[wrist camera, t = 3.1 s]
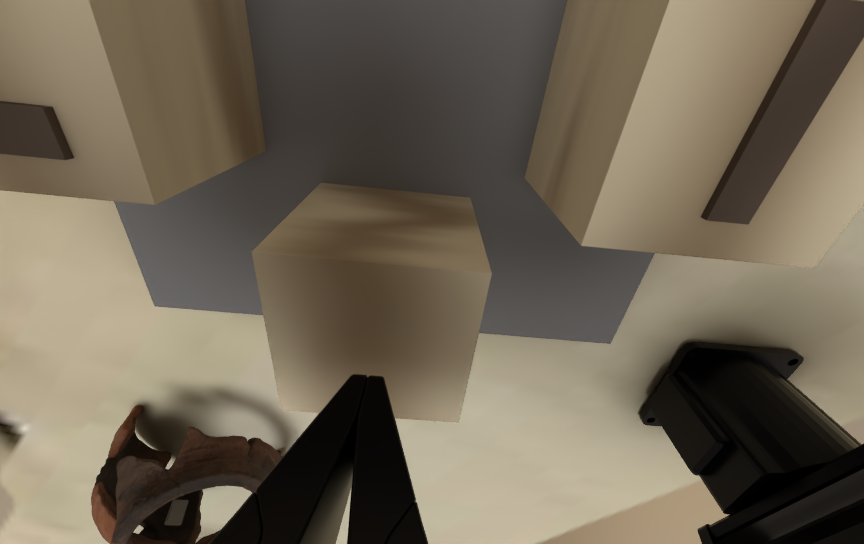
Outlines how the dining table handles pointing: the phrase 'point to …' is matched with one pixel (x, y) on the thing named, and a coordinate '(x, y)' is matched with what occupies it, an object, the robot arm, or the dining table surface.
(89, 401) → the dining table surface
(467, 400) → the dining table surface
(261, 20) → the charcoal mat
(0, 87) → the numbered block seven
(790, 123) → the numbered block one
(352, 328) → the plain block
